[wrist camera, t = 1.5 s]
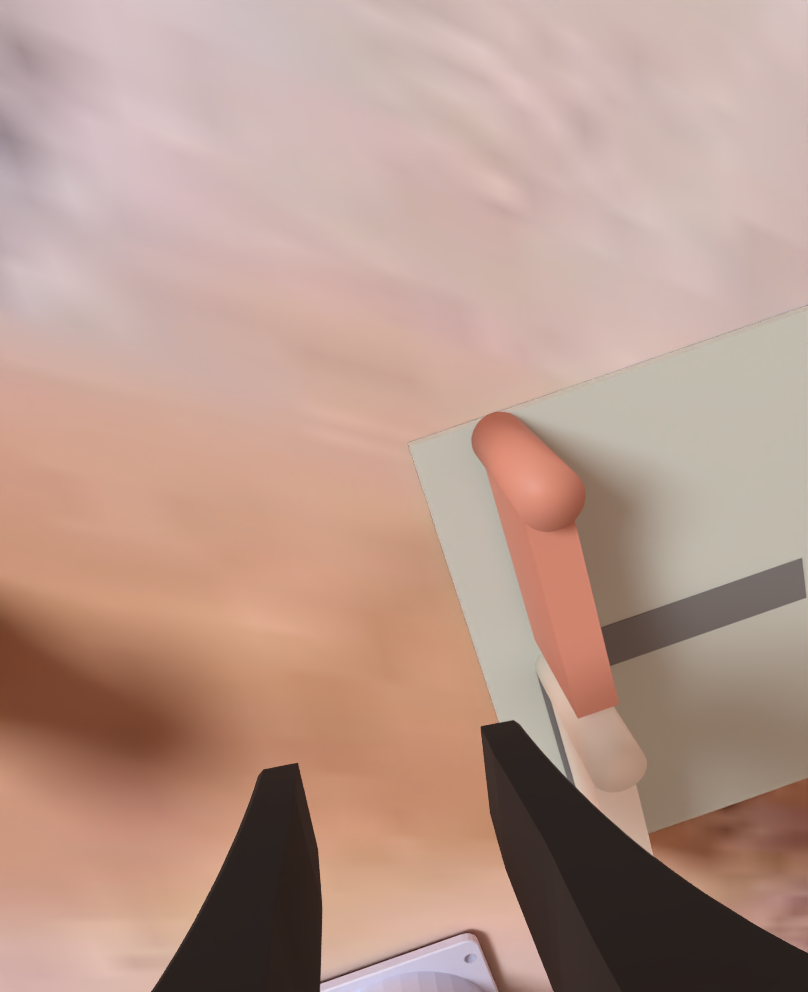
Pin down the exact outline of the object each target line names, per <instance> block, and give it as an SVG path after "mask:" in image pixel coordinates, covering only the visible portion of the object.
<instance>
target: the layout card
mask: <svg viewBox="0 0 808 992" xmlns="http://www.w3.org/2000/svg"><path fill="white" fill-rule="evenodd" d="M499 412H507V413H511V414H513V415H515V416H516V417H517V418H518V419H519V420H521V421H522V422H523V423H524V424H525V425H526V426H527V427H528V428H529V429H530V430H531V431H532V432H533V433H534V434H535V435H536V436H537V437H538V438H539V439H540V440H541V441H542V442H543V443H545V444H546V445H547V446H548V447H549V448H550V449H551V450H552V451H553V452H554V453H555V454H556V455H557V456H558V457H559V458H560V459H561V460H562V461H563V462H564V463H565V464H566V465H567V466H569V467H570V468H571V469H572V470H573V471H574V472H575V473H576V474H577V475H578V476H579V477H580V479H581V480H582V482H583V484H584V487H585V492H586V498H585V503H584V507H583V509H582V511H581V513H580V514H579V516H578V517H577V518H576V519H575V523H576V527H577V532H578V536H579V540H580V544H581V548H582V552H583V556H584V560H585V565H586V569H587V573H588V577H589V581H590V585H591V589H592V594H593V598H594V602H595V606H596V610H597V614H598V618H599V623H600V627H601V631H602V635H603V639H604V643H605V647H606V651H607V656H608V660H609V664H610V668H611V672H612V676H613V680H614V685H615V689H616V693H617V697H618V701H619V705H616V706H614V707H615V709H616V711H617V712H618V714H619V715H620V717H621V718H622V720H623V722H624V723H625V725H626V726H627V728H628V729H629V731H630V733H631V734H632V736H633V737H634V739H635V741H636V742H637V744H638V745H639V747H640V748H641V750H642V752H643V753H644V755H645V757H646V759H647V768H646V772H645V774H644V775H643V777H642V778H641V780H640V781H639V782H638V783H637V784H636V786H637V790H638V794H639V798H640V803H641V807H642V811H643V815H644V819H645V823H646V827H647V831H648V834H650V833H653V832H655V831H658V830H661V829H664V828H667V827H670V826H673V825H675V824H678V823H681V822H684V821H687V820H690V819H692V818H695V817H698V816H701V815H704V814H707V813H710V812H712V811H715V810H718V809H721V808H724V807H727V806H729V805H732V804H735V803H738V802H741V801H744V800H747V799H749V798H752V797H755V796H758V795H761V794H764V793H766V792H769V791H772V790H775V789H778V788H781V787H784V786H786V785H789V784H792V783H795V782H798V781H801V780H803V779H806V778H808V305H807V306H804V307H801V308H799V309H796V310H793V311H790V312H787V313H784V314H781V315H778V316H775V317H772V318H769V319H767V320H764V321H761V322H758V323H755V324H752V325H749V326H746V327H743V328H740V329H738V330H735V331H732V332H729V333H726V334H723V335H720V336H717V337H714V338H711V339H708V340H706V341H703V342H700V343H697V344H694V345H691V346H688V347H685V348H682V349H679V350H676V351H674V352H671V353H668V354H665V355H662V356H659V357H656V358H653V359H650V360H647V361H645V362H642V363H639V364H636V365H633V366H630V367H627V368H624V369H621V370H618V371H615V372H613V373H610V374H607V375H604V376H601V377H598V378H595V379H592V380H589V381H586V382H583V383H581V384H578V385H575V386H572V387H569V388H566V389H563V390H560V391H557V392H554V393H552V394H549V395H546V396H543V397H540V398H537V399H534V400H531V401H528V402H525V403H522V404H520V405H517V406H514V407H511V408H508V409H505V410H502V411H499ZM482 418H484V417H482ZM482 418H479V419H476V420H473V421H470V422H467V423H464V424H461V425H459V426H456V427H453V428H450V429H447V430H444V431H441V432H438V433H435V434H432V435H429V436H427V437H424V438H421V439H418V440H415V441H412V442H409V443H408V446H409V449H410V452H411V455H412V458H413V462H414V465H415V468H416V471H417V474H418V477H419V480H420V483H421V486H422V489H423V492H424V495H425V498H426V501H427V504H428V507H429V510H430V513H431V516H432V520H433V523H434V526H435V529H436V532H437V535H438V538H439V541H440V544H441V547H442V550H443V553H444V556H445V559H446V562H447V565H448V568H449V571H450V574H451V578H452V581H453V584H454V587H455V590H456V593H457V596H458V599H459V602H460V605H461V608H462V611H463V614H464V617H465V620H466V623H467V626H468V629H469V632H470V636H471V639H472V642H473V645H474V648H475V651H476V654H477V657H478V660H479V663H480V666H481V669H482V672H483V675H484V678H485V681H486V684H487V687H488V691H489V694H490V697H491V700H492V703H493V706H494V709H495V712H496V715H497V718H498V721H499V723H501V722H506V721H511V720H514V721H516V722H517V723H519V724H520V725H521V726H522V728H523V729H524V730H525V731H526V733H527V734H528V735H529V736H530V738H531V739H532V740H533V741H534V742H535V744H536V745H537V746H538V747H539V748H540V749H541V751H542V752H543V753H544V754H545V755H546V756H547V757H548V759H549V760H550V761H551V762H552V763H553V764H554V765H555V766H556V767H557V768H558V769H559V771H560V772H561V773H562V774H563V775H564V776H565V777H566V778H567V779H568V780H569V781H570V782H571V783H572V784H573V785H574V786H575V783H574V779H573V776H572V772H571V769H570V766H569V762H568V759H567V755H566V752H565V748H564V745H563V741H562V738H561V734H560V731H559V727H558V724H557V720H556V717H555V713H554V710H553V706H552V703H551V700H550V698H549V696H548V694H547V693H546V691H545V689H544V687H543V685H542V683H541V681H540V679H539V677H538V675H537V673H536V670H535V663H536V659H537V657H538V655H539V654H540V653H541V650H540V649H539V647H538V645H537V643H536V641H535V639H534V636H533V632H532V629H531V625H530V622H529V618H528V615H527V611H526V608H525V604H524V601H523V597H522V594H521V590H520V587H519V583H518V580H517V577H516V573H515V570H514V566H513V563H512V559H511V556H510V552H509V549H508V545H507V542H506V538H505V535H504V531H503V528H502V524H501V521H500V517H499V514H498V510H497V507H496V503H495V500H494V496H493V493H492V489H491V486H490V482H489V479H488V475H487V472H486V468H485V467H484V465H483V464H482V463H481V461H480V460H479V459H478V457H477V456H476V454H475V453H474V451H473V448H472V443H471V439H472V433H473V430H474V428H475V426H476V425H477V423H478V422H479V421H480V420H481V419H482ZM575 787H576V786H575Z"/></svg>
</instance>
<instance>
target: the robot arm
mask: <svg viewBox="0 0 808 992" xmlns="http://www.w3.org/2000/svg"><path fill="white" fill-rule="evenodd" d="M481 735H482V744H483V753H484V762H485V771H486V780H487V789H488V798H489V807H490V814H491V818H492V822H493V825H494V829H495V833H496V836H497V840H498V844H499V847H500V851H501V854H502V858H503V861H504V865H505V869H506V871H507V874H508V876H509V879H510V882H511V884H512V887H513V889H514V892H515V894H516V897H517V900H518V902H519V905H520V907H521V910H522V912H523V915H524V917H525V920H526V923H527V925H528V928H529V930H530V933H531V935H532V938H533V940H534V943H535V945H536V948H537V950H538V953H539V956H540V958H541V961H542V963H543V966H544V968H545V971H546V973H547V976H548V978H549V981H550V984H551V986H552V989H553V991H554V992H808V953H807V952H805V951H803V950H800V949H798V948H797V947H795V946H793V945H791V944H789V943H787V942H785V941H783V940H782V939H780V938H778V937H776V936H774V935H773V934H771V933H769V932H767V931H765V930H764V929H762V928H760V927H758V926H756V925H755V924H753V923H751V922H750V921H748V920H747V919H745V918H744V917H742V916H740V915H739V914H737V913H736V912H734V911H732V910H731V909H729V908H728V907H726V906H724V905H723V904H721V903H720V902H718V901H716V900H715V899H713V898H712V897H710V896H708V895H707V894H705V893H704V892H702V891H701V890H699V889H698V888H696V887H695V886H693V885H692V884H691V883H689V882H688V881H686V880H685V879H684V878H682V877H681V876H679V875H678V874H677V873H675V872H674V871H672V870H671V869H670V868H668V867H667V866H666V865H664V864H663V863H662V862H660V861H659V860H658V859H657V858H655V857H654V856H653V855H651V854H650V853H649V852H647V851H646V850H645V849H644V848H642V847H641V846H640V845H639V844H638V843H636V842H635V841H634V840H633V839H632V838H630V837H629V836H628V835H627V834H626V833H624V832H623V831H622V830H621V829H620V828H619V827H618V826H617V825H615V824H614V823H613V822H612V821H611V820H610V819H609V818H607V817H606V816H605V815H604V814H603V813H602V812H601V811H600V810H599V809H598V808H597V807H596V806H594V805H593V804H592V803H591V802H590V801H589V800H588V799H587V798H586V797H585V796H584V795H583V794H582V793H581V792H580V791H579V790H578V789H577V788H576V787H575V786H574V785H573V784H572V783H571V782H570V781H569V780H568V779H567V778H566V777H565V776H564V775H563V774H562V773H561V772H560V771H559V769H558V768H557V767H556V766H555V765H554V764H553V763H552V762H551V761H550V760H549V759H548V757H547V756H546V755H545V754H544V753H543V752H542V751H541V749H540V748H539V747H538V746H537V745H536V744H535V742H534V741H533V740H532V739H531V738H530V736H529V735H528V734H527V733H526V731H525V730H524V729H523V728H522V726H521V725H520V724H519V723H517V722H516V721H514V720H511V721H506V722H501V723H496V724H491V725H486V726H481ZM321 939H322V897H321V883H320V870H319V857H318V848H317V843H316V839H315V835H314V830H313V826H312V822H311V818H310V813H309V809H308V805H307V800H306V796H305V792H304V788H303V783H302V779H301V775H300V770H299V766H298V763H294V764H289V765H284V766H279V767H274V768H269V769H264V770H263V771H262V772H261V773H260V774H259V776H258V778H257V782H256V785H255V788H254V791H253V794H252V796H251V799H250V802H249V805H248V807H247V810H246V812H245V815H244V817H243V820H242V822H241V825H240V827H239V830H238V832H237V835H236V837H235V839H234V841H233V843H232V846H231V848H230V850H229V852H228V855H227V857H226V859H225V861H224V863H223V866H222V868H221V870H220V872H219V874H218V876H217V878H216V880H215V882H214V884H213V886H212V888H211V890H210V892H209V894H208V896H207V898H206V900H205V902H204V903H203V905H202V907H201V909H200V911H199V913H198V915H197V917H196V919H195V921H194V923H193V924H192V926H191V928H190V930H189V931H188V933H187V935H186V937H185V938H184V940H183V942H182V944H181V945H180V947H179V949H178V950H177V952H176V954H175V955H174V957H173V959H172V960H171V962H170V963H169V965H168V967H167V968H166V970H165V971H164V973H163V975H162V976H161V978H160V979H159V981H158V982H157V984H156V985H155V987H154V988H153V990H152V991H151V992H499V991H498V988H497V986H496V984H495V981H494V979H493V976H492V974H491V971H490V969H489V966H488V964H487V961H486V959H485V956H484V954H483V951H482V949H481V946H480V944H479V941H478V939H477V937H476V936H475V935H473V934H471V933H464V934H461V935H458V936H455V937H452V938H449V939H446V940H443V941H441V942H438V943H435V944H432V945H429V946H426V947H424V948H421V949H418V950H415V951H412V952H409V953H407V954H404V955H401V956H398V957H395V958H392V959H389V960H387V961H384V962H381V963H378V964H375V965H372V966H370V967H367V968H364V969H361V970H358V971H355V972H353V973H350V974H347V975H344V976H341V977H338V978H335V979H333V980H330V981H327V982H324V983H321V984H320V974H321Z"/></svg>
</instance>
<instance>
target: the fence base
mask: <svg viewBox="0 0 808 992" xmlns="http://www.w3.org/2000/svg"><path fill="white" fill-rule="evenodd" d="M535 670H536V673H537V675H538V677H539V679H540V681H541V683H542V685H543V687H544V689H545V691H546V693H547V694H548V696H549V698H550V700H551V703H552V706H553V710H554V713H555V717H556V720H557V724H558V727H559V731H560V734H561V738H562V741H563V745H564V748H565V752H566V755H567V759H568V762H569V766H570V769H571V772H572V776H573V779H574V783H575V786H576V788H577V789H578V790H579V791H580V792H581V793H582V794H583V795H584V796H585V797H586V798H587V799H588V800H589V801H590V802H591V803H592V804H593V805H594V806H596V807H597V808H598V809H599V810H600V811H601V812H602V813H603V814H604V815H605V816H606V817H607V818H609V819H610V820H611V821H612V822H613V823H614V824H615V825H617V826H618V827H619V828H620V829H621V830H622V831H623V832H624V833H626V834H627V835H628V836H629V837H630V838H632V839H633V840H634V841H635V842H636V843H638V844H639V845H640V846H641V847H642V848H644V849H645V850H646V851H647V852H649V853H650V854H651V855H653V852H652V848H651V844H650V839H649V835H648V831H647V827H646V823H645V819H644V815H643V811H642V807H641V803H640V798H639V794H638V790H637V786H636V784H637V783H638V782H639V781H640V780H641V778H642V777H643V775H644V774H645V772H646V768H647V759H646V757H645V755H644V753H643V752H642V750H641V748H640V747H639V745H638V744H637V742H636V741H635V739H634V737H633V736H632V734H631V733H630V731H629V729H628V728H627V726H626V725H625V723H624V722H623V720H622V718H621V717H620V715H619V714H618V712H617V711H616V709H615V707H614V706H613V707H610V708H607V709H604V710H602V711H599V712H596V713H593V714H590V715H587V716H584V717H582V718H579V719H578V718H577V716H576V714H575V712H574V710H573V709H572V707H571V705H570V703H569V701H568V700H567V698H566V696H565V694H564V692H563V690H562V689H561V687H560V685H559V683H558V681H557V680H556V678H555V676H554V674H553V672H552V670H551V669H550V667H549V665H548V663H547V661H546V660H545V658H544V656H543V654H542V652H541V653H540V654H539V655H538V657H537V659H536V663H535Z"/></svg>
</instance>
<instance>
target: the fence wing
mask: <svg viewBox="0 0 808 992" xmlns="http://www.w3.org/2000/svg"><path fill="white" fill-rule="evenodd" d="M471 443H472V448H473V451H474V453H475V454H476V456H477V457H478V459H479V460H480V461H481V463H482V464H483V465H484V467H485V468H486V472H487V475H488V479H489V482H490V486H491V489H492V493H493V496H494V500H495V503H496V507H497V510H498V514H499V517H500V521H501V524H502V528H503V531H504V535H505V538H506V542H507V545H508V549H509V552H510V556H511V559H512V563H513V566H514V570H515V573H516V577H517V580H518V583H519V587H520V590H521V594H522V597H523V601H524V604H525V608H526V611H527V615H528V618H529V622H530V625H531V629H532V632H533V636H534V639H535V641H536V643H537V645H538V647H539V649H540V650H541V652H542V654H543V656H544V658H545V660H546V661H547V663H548V665H549V667H550V669H551V670H552V672H553V674H554V676H555V678H556V680H557V681H558V683H559V685H560V687H561V689H562V690H563V692H564V694H565V696H566V698H567V700H568V701H569V703H570V705H571V707H572V709H573V710H574V712H575V714H576V716H577V718H578V719H579V718H582V717H584V716H587V715H590V714H593V713H596V712H599V711H602V710H604V709H607V708H610V707H613V706H616V705H619V701H618V697H617V693H616V689H615V685H614V680H613V676H612V672H611V668H610V664H609V660H608V656H607V651H606V647H605V643H604V639H603V635H602V631H601V627H600V623H599V618H598V614H597V610H596V606H595V602H594V598H593V594H592V589H591V585H590V581H589V577H588V573H587V569H586V565H585V560H584V556H583V552H582V548H581V544H580V540H579V536H578V532H577V527H576V523H575V519H576V518H577V517H578V516H579V514H580V513H581V511H582V509H583V507H584V503H585V498H586V492H585V487H584V484H583V482H582V480H581V479H580V477H579V476H578V475H577V474H576V473H575V472H574V471H573V470H572V469H571V468H570V467H569V466H567V465H566V464H565V463H564V462H563V461H562V460H561V459H560V458H559V457H558V456H557V455H556V454H555V453H554V452H553V451H552V450H551V449H550V448H549V447H548V446H547V445H546V444H545V443H543V442H542V441H541V440H540V439H539V438H538V437H537V436H536V435H535V434H534V433H533V432H532V431H531V430H530V429H529V428H528V427H527V426H526V425H525V424H524V423H523V422H522V421H521V420H519V419H518V418H517V417H516V416H515V415H513V414H511V413H507V412H494V413H491V414H489V415H487V416H485V417H484V418H482V419H481V420H480V421H479V422H478V423H477V425H476V426H475V428H474V430H473V433H472V439H471Z"/></svg>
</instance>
